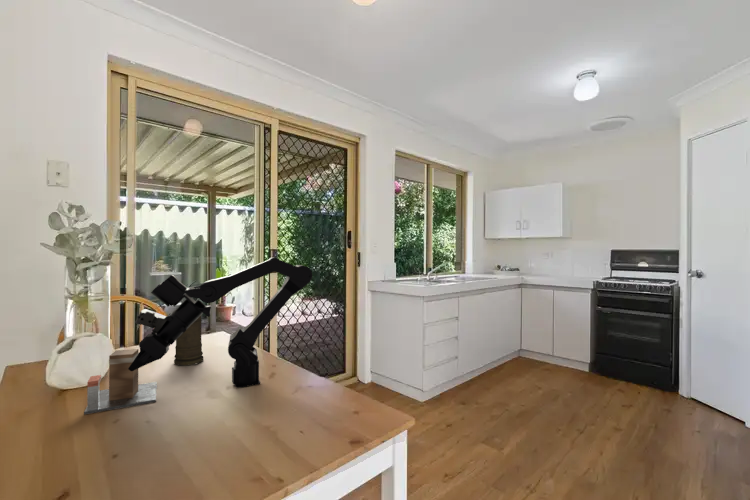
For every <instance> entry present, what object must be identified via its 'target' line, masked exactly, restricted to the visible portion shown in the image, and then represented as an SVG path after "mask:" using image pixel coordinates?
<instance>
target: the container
mask: <svg viewBox="0 0 750 500" xmlns="http://www.w3.org/2000/svg"><path fill="white" fill-rule="evenodd" d="M202 321H203V320H202V315H201V316H200V317H199V318H198V319H196V320H195V321H194V322H193V323H192V324H191V325H190V326H189V327H188V329H187V330H186V331H185V332H184V333H182V334H181V335H180V336H179V337H178V338H177V339H176V341H175V346H174V347H175V354H174V356H173V357H174V360H173V363H174V365H175V366H183V367H184V366H185V367H186V366H193V365H197V364H200V363H202V362H203V361H204V356H203V354H204V352H203V350H202V348H203V343H202Z"/></svg>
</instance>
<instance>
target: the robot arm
mask: <svg viewBox="0 0 750 500" xmlns="http://www.w3.org/2000/svg"><path fill="white" fill-rule="evenodd" d="M274 272H275V273H278V274H281V275H283V276H286V278H285V279H284V282H283V284H282V285H281V287H280V288H279V289H278V290H277V292H275V294H274V295H273V296H272V297H271V299H270V300H269V301H267V303H266V304H265V305H264V307H263V308H262V309H261V310H260V311H259V312H258V314H256V316H255V317H254V318H253V319H252V320H251V322H250V323H249V324H247V325H246V326H244V327H243V326H242V325H238V327H237V328H236V330H235V332H234V333H232V334H230V336H229V342H228V346H227V353H228V355H229V357H230V358H231V359H234V361H233V366H232V367H231V382H232V384H233V385H234V386H235V388H236V389H239V388H240V389H241V388H245V387H246V388H247V387H251V386H256V385H261V380H260V360H259V357H258V356H259V355H258V350H257V348H256V347H254V346H255V344H256V342H257V340H258V339H259V336H260V334H261V333H262V332H263V331H264V329H265V328H266V327H267V326H268V324H269V323H271V321H272V320H273V319H274V318H275V317H276V315H277V314H278V313H279V312H280V310H281V309H282V308H283V307H284V306H285V305H286V304H287V302H288V301H289V300H290V299H291V297H292V296H294V295H295V294H296V293H298V292H299V291H301V290H302V289H303V288H305V287H306V286H307V285H308V284H309V283H310V282H311V281H312V280H313V271H312V270H311V268H310V267H309V266H306V265H302V264H296V265H293V264H291V263H288V262H286V261H283V260H280V258H277V257H269V259H267V260H265V261H262V262H260V263H257V264H255V265H253V266H250V267H248V268H245V269H242V270H241V271H238V272H236V273H233V274H231V275H227V276H222V277H217V278H212V279H209V280H206V281H204V282H203V283H202V284H200V285H195V286H191V287H187V286H186V285H185V284H184V283H182V282H181V281H180V280H179V279H178V278H177V277H176V276H175V275H174V274H171V275H170V276H168V277H167V278H166V279H165V280H163V281H162V282H161V283H159V284H158V285H157V286H155V288H153V289H152V290H151V292H150V294H151V295H153V297H155V298H156V299H157V300H159V302H161V303H163V304H164V305H165V306H167V307H168V308H169V307H170V306H171V307H172V306H173V307H176V306H177V305H178V304H179V303H181V304H179V306H178V307H177V308H176V309H174V310H173V311H172V313H168V314H167V315H164V314H161V313H159V312H155V311H153V310H149V309H146V308H144V309H142V310H140V312H139V314H138V315H137V317H136V320H135V322H134V323H135V324H136V325H139V326H141V325H142V326H144V327H148V328H151V329H152V330H151V333H148V334H147V335H146V336H145V337H143V338H142V339H141V340H140V342H139V343H138V347H139V351H138V352H139V354H138V355H137V357H136V358H135V360H134V361H133V362H132V364H131V365H130V367H129V368H128V369H129V370H130V371H134V370H136V369H138V370H139V369H140V368H143V367H145V366H146V365H148V364H151V363H153V362H156V361H158V360H161V359H162V358H163V357H164V356H165V355H166V354H167V353H168V352H169V350H170V346H171V345H173V344H175V343H176V339H177V338H178V337H179V336H180V335H181V334H182V333H184V332H185V331H186V330H187V329H188V327H189V326H190V325H191V324H192V323H193V322H194V321H195V320H196V319H198V318H199V317H200V316H201V317H202V315H203V314H204V315H205V316H206V317H207V318H208V317H211V315H212V305H206V304H212V303H215V302H216V301H218V300H219V299H221V298H222V297H224V296H225V295H228V293H230V292H232V291H233V290H235V289H236V288H238V287H241V286H243V285H247V284H248V283H250V282H252V281H255V280H258V279H260V278H263V277H265V276H267V275H270V274H271V273H274ZM183 299H185V300H184V301H183ZM195 299H197V300H195ZM182 301H183V302H182ZM205 303H206V304H205Z"/></svg>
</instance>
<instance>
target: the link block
mask: <svg viewBox="0 0 750 500" xmlns="http://www.w3.org/2000/svg"><path fill="white" fill-rule="evenodd" d="M139 352H140V351H139V348H133V349H130V348H129V349H120V350H119V349H118V350H115V351H113V352H112V353H111V354H110V355H109V356H108V357H109V359H108V373H109V374H108V379H109V380H108V382H109V383H108V389H109V400H117V399H126V398H133V397H134V395H135V394H136V393H137V391H138V384H139V368H138V369H136V370H134V371H130V370H129V369H128V368H129V367H130V365H131V364H132V362H133V361H134V360H135V358H136V357H137V355H138V354H139Z"/></svg>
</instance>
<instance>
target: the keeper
mask: <svg viewBox="0 0 750 500" xmlns="http://www.w3.org/2000/svg"><path fill="white" fill-rule="evenodd" d="M101 381H102V374H98V375H92V376H90V377H89V378H88V380H87V385H86V386H87V393H86V395H87V397H86V398H87V401H86V403H87V406H86V408H85V410H84V413H83V415H84V416H85V415H88V414H89V415H90V414H94V413H95V414H96V413H100V412H107V411H111V410H118V409H123V408H129V407H135V406H139V405H145V404H146V405H147V404H151V403H156V402H157V389H158V388H157V387H158V385H157V384H158V383H157V382H158V381H152V382H146V383H138V391H137V393H136V394H135V395H134V397H133V398H126V399H117V400H109V388H106V389H100V383H101Z"/></svg>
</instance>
